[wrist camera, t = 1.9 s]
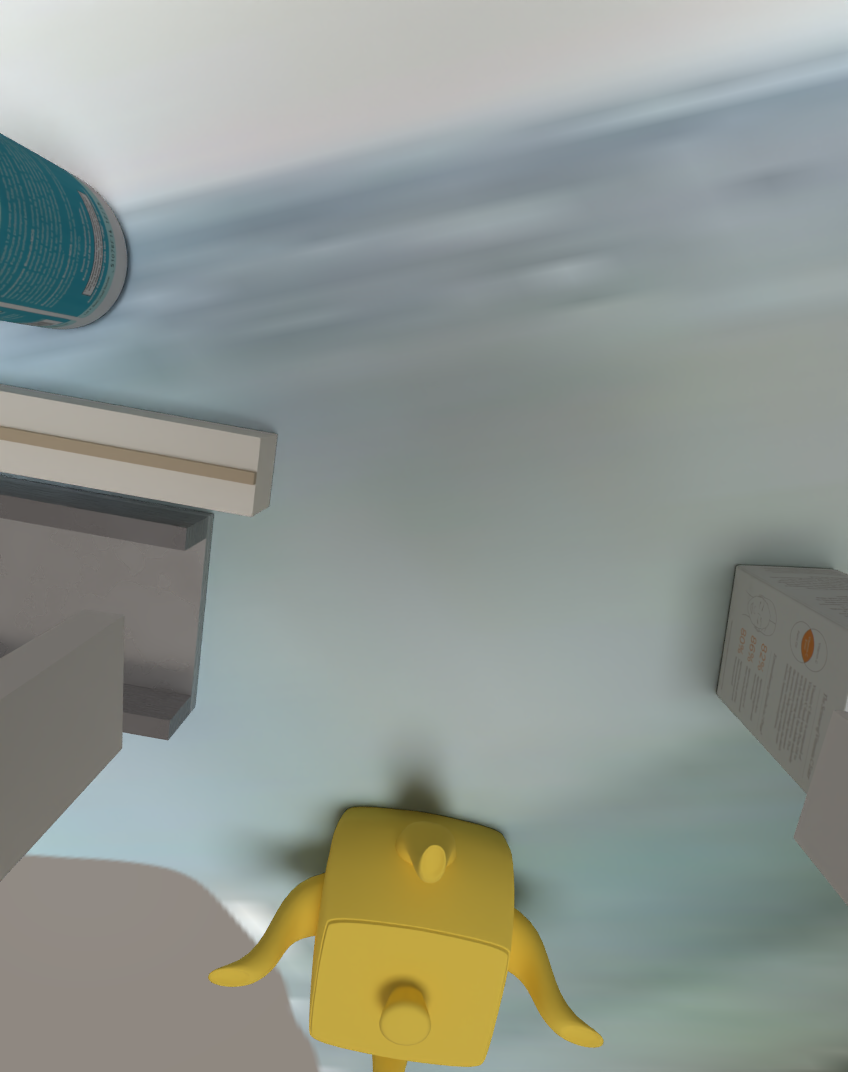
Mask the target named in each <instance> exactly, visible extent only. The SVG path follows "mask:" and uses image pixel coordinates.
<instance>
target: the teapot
mask: <svg viewBox="0 0 848 1072" xmlns="http://www.w3.org/2000/svg"><path fill="white" fill-rule="evenodd" d="M310 936H315V945H314V955H313V967H312V979H311V994H310V1014H309V1031H310V1035H311V1036H312V1037H313V1038H314V1039H316V1040H318V1041H321V1042H324V1043H326V1044H330V1045H333V1046H337V1047H341V1048H345V1049H349V1050H353V1051H358V1052H363V1053H367V1054H372V1059H373V1072H404V1071H405V1068H406V1064H407V1061H413V1062H421V1063H429V1064H437V1065H447V1066H461V1067H473V1066H479V1065H481V1064H482V1063H483V1062H484V1060H485V1057H486V1055H487V1052H488V1049H489V1045H490V1042H491V1038H492V1035H493V1031H494V1027H495V1023H496V1019H497V1015H498V1011H499V1007H500V1003H501V999H502V994H503V990H504V986H505V981H506V977H507V972H508V971H509V972H510V973H512V974H513V975H515V976H516V977H517V978H518V979H519V980H520V981H521V982H522V983H523V984H524V986H525V987H526V989H527V990H528V992H529V994H530V996H531V997H532V999H533V1001H534V1003H535V1005H536V1007H537V1009H538V1011H539V1013H540V1015H541V1016H542V1018H543V1019H544V1020H545V1022H546V1023H547V1024H548V1026H549V1027H550V1028H551V1029H552V1030H553V1031H554V1032H555V1033H556V1034H558V1035H559V1036H560V1037H562V1038H563V1039H565V1040H567V1041H569V1042H571V1043H574V1044H577V1045H580V1046H584V1047H593V1048H595V1047H600V1046H602V1045H603V1039H602V1037H601V1036H600V1035H599V1034H598V1033H597V1032H596V1031H595V1030H594V1029H592V1028H591V1027H590V1026H588V1025H587V1024H586V1023H585V1022H583V1021H582V1020H581V1019H580V1018H578V1017H577V1016H576V1015H575V1014H574V1012H573V1011H572V1010H571V1009H570V1008H569V1006H568V1005H567V1003H566V1002H565V1000H564V998H563V996H562V995H561V993H560V990H559V988H558V986H557V983H556V981H555V978H554V975H553V972H552V969H551V966H550V962H549V959H548V956H547V953H546V950H545V948H544V945H543V942H542V940H541V938H540V936H539V934H538V932H537V931H536V929H535V928H534V926H533V925H532V924H531V922H530V921H529V920H528V919H527V918H526V917H525V916H524V915H523V914H522V913H521V912H519V911H518V910H516V909H515V908H514V873H513V861H512V854H511V851H510V848H509V846H508V844H507V842H506V840H505V838H504V837H503V835H502V834H501V833H500V832H498V831H496V830H494V829H491V828H488V827H485V826H482V825H478V824H474V823H470V822H467V821H463V820H458V819H454V818H450V817H446V816H441V815H436V814H431V813H425V812H419V811H411V810H402V809H392V808H380V807H352V808H349V809H347V810H346V811H345V813H344V814H343V815H342V817H341V819H340V820H339V822H338V824H337V827H336V829H335V832H334V835H333V839H332V843H331V848H330V853H329V857H328V862H327V867H326V872H325V873H323V874H320V875H317V876H314V877H311V878H309V879H307V880H305V881H303V882H302V883H300V884H299V885H298V886H296V887H295V888H294V889H293V890H292V891H291V892H290V893H289V895H288V896H287V897H286V898H285V900H284V901H283V902H282V904H281V906H280V907H279V909H278V910H277V912H276V914H275V916H274V918H273V919H272V921H271V923H270V925H269V927H268V929H267V930H266V932H265V934H264V935H263V937H262V938H261V940H260V941H259V943H258V944H257V945H256V946H255V947H254V948H253V949H252V950H251V952H249V953H248V954H247V955H245V956H244V957H243V958H241V959H240V960H238V961H236V962H233V963H231V964H228V965H226V966H223V967H220V968H218V969H216V970H214V971H212V972H211V973H210V974H209V976H208V978H209V980H210V981H211V982H212V983H214V984H217V985H221V986H228V987H237V986H245V985H249V984H252V983H254V982H256V981H258V980H260V979H261V978H263V977H265V976H266V975H267V974H268V973H269V972H270V971H271V970H272V969H273V968H274V967H275V966H276V964H277V963H278V961H279V960H280V959H281V957H282V956H283V954H284V953H285V951H286V950H287V949H288V948H289V946H291V945H292V944H293V943H294V942H296V941H298V940H300V939H303V938H306V937H310Z"/></svg>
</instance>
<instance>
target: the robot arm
mask: <svg viewBox="0 0 848 1072" xmlns="http://www.w3.org/2000/svg"><path fill="white" fill-rule="evenodd" d="M123 670H124V615H119V614H112V613H104V612H97V611H89V610H82V611H80V612H78V613H77V614H75V615H73V616H72V617H70V618H68V619H66V620H65V621H63V622H61V623H60V624H58V625H56V626H55V627H53V628H51V629H49V630H48V631H46V632H44V633H43V634H41V635H39V636H38V637H36V638H34V639H33V640H31V641H29V642H27V643H26V644H24V645H22V646H21V647H19V648H17V649H16V650H14V651H12V652H11V653H9V654H7V655H5V656H4V657H2V658H0V882H1V880H2V879H3V878H4V877H5V876H6V875H7V874H8V873H9V872H10V871H11V869H12V868H13V867H14V866H15V865H16V864H17V863H18V862H19V861H20V860H21V859H22V857H23V856H24V855H25V854H26V853H27V852H28V851H29V850H30V849H31V848H32V846H33V845H34V844H35V843H36V842H37V841H38V840H39V839H40V838H41V837H42V836H43V834H44V833H45V832H46V831H47V830H48V829H49V828H50V827H51V826H52V825H53V823H54V822H55V821H56V820H57V819H58V818H59V817H60V816H61V815H62V814H63V813H64V811H65V810H66V809H67V808H68V807H69V806H70V805H71V804H72V803H73V802H74V800H75V799H76V798H77V797H78V796H79V795H80V794H81V793H82V792H83V791H84V790H85V788H86V787H87V786H88V785H89V784H90V783H91V782H92V781H93V780H94V779H95V777H96V776H97V775H98V774H99V773H100V772H101V771H102V770H103V769H104V768H105V767H106V765H107V764H108V763H109V762H110V761H111V760H112V759H113V758H114V757H115V756H116V754H117V753H118V752H119V751H120V750H121V749H122V727H123ZM794 839H795V840H796V842H797V843H798V844H799V845H800V847H801V848H802V849H803V850H804V852H805V853H806V854H807V855H808V857H809V858H810V859H811V860H812V862H813V863H814V864H815V865H816V867H817V868H818V869H819V870H820V872H821V873H822V874H823V875H824V877H825V878H826V879H827V880H828V882H829V883H830V884H831V886H832V887H833V888H834V889H835V891H836V892H837V893H838V894H839V896H840V897H841V898H842V899H843V901H844V902H845V903H846V904H847V906H848V712H847V711H840V710H833V713H832V716H831V719H830V723H829V726H828V729H827V732H826V735H825V739H824V742H823V745H822V748H821V751H820V755H819V758H818V761H817V764H816V767H815V771H814V774H813V777H812V780H811V783H810V787H809V790H808V793H807V796H806V799H805V803H804V806H803V809H802V812H801V815H800V818H799V822H798V825H797V828H796V831H795V834H794Z"/></svg>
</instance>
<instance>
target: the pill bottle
mask: <svg viewBox="0 0 848 1072" xmlns="http://www.w3.org/2000/svg"><path fill="white" fill-rule="evenodd" d="M126 272H127V250H126V244H125V239H124V236H123V232H122V230H121V227H120V224H119V222H118V220H117V218H116V216H115V215H114V213H113V211H112V210H111V208H110V207H109V205H108V204H107V203H106V201H105V200H104V199H103V198H102V197H101V196H100V195H99V194H98V193H97V192H96V191H95V190H94V189H93V188H92V187H90V186H89V185H88V184H87V183H85V182H84V181H82V180H81V179H79V178H77V177H76V176H74V175H72V174H70V173H69V172H67V171H66V170H64V169H62V168H60V167H59V166H57V165H55V164H53V163H52V162H50V161H48V160H46V159H45V158H43V157H41V156H39V155H38V154H36V153H34V152H32V151H31V150H29V149H27V148H25V147H24V146H22V145H20V144H18V143H17V142H15V141H13V140H11V139H10V138H8V137H6V136H4V135H3V134H1V133H0V320H1V321H7V322H13V323H19V324H25V325H31V326H38V327H45V328H52V329H72V328H78V327H81V326H85V325H87V324H90V323H92V322H94V321H96V320H97V319H99V318H100V317H101V316H103V315H104V314H105V313H106V312H107V311H108V310H109V309H110V308H111V307H112V306H113V304H114V303H115V301H116V300H117V298H118V296H119V295H120V293H121V290H122V288H123V285H124V282H125V277H126Z"/></svg>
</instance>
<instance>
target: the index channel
mask: <svg viewBox="0 0 848 1072" xmlns="http://www.w3.org/2000/svg"><path fill="white" fill-rule="evenodd" d="M213 517H214V514H210V513H204V512H199V511H193V510H188V509H182V508H177V507H171V506H166V505H160V504H155V503H149V502H143V501H138V500H132V499H127V498H121V497H116V496H110V495H105V494H99V493H93V492H88V491H82V490H77V489H71V488H66V487H60V486H55V485H49V484H44V483H38V482H32V481H27V480H21V479H16V478H10V477H5V476H0V658H2V657H4V656H5V655H7V654H9V653H11V652H12V651H14V650H16V649H17V648H19V647H21V646H22V645H24V644H26V643H27V642H29V641H31V640H33V639H34V638H36V637H38V636H39V635H41V634H43V633H44V632H46V631H48V630H49V629H51V628H53V627H55V626H56V625H58V624H60V623H61V622H63V621H65V620H66V619H68V618H70V617H72V616H73V615H75V614H77V613H78V612H80V611H82V610H89V611H97V612H104V613H112V614H119V615H124V670H123V727H122V732H125V733H130V734H136V735H141V736H147V737H153V738H158V739H164V740H169V739H170V737H171V736H172V735H173V734H174V733H175V731H176V730H177V729H178V728H179V726H180V725H181V724H182V723H183V721H184V720H185V719H186V718H187V716H188V715H189V714H190V713H191V711H192V710H193V709H194V708H195V703H196V693H197V683H198V672H199V662H200V652H201V641H202V631H203V621H204V610H205V600H206V590H207V579H208V569H209V559H210V548H211V538H212V528H213Z"/></svg>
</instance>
